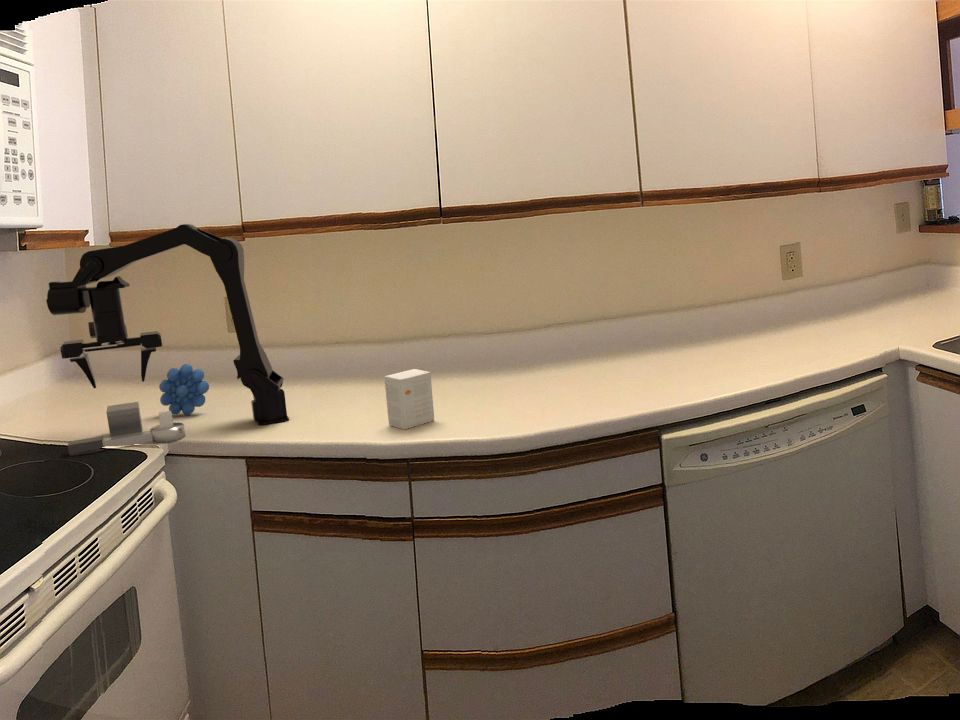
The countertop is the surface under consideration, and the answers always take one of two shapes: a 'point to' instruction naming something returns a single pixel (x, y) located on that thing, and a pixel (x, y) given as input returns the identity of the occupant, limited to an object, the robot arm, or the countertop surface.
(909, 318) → the countertop surface
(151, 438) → the ratchet
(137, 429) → the grey rounded cube
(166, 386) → the grapes
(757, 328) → the countertop surface
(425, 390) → the small box
